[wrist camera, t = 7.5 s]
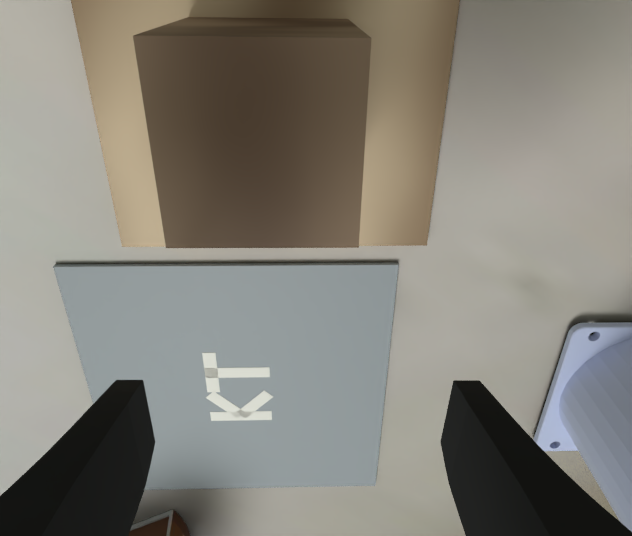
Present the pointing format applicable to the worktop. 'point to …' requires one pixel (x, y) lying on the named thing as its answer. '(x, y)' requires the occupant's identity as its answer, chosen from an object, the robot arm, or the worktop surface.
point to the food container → (161, 526)
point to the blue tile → (243, 365)
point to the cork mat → (382, 108)
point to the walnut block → (257, 130)
